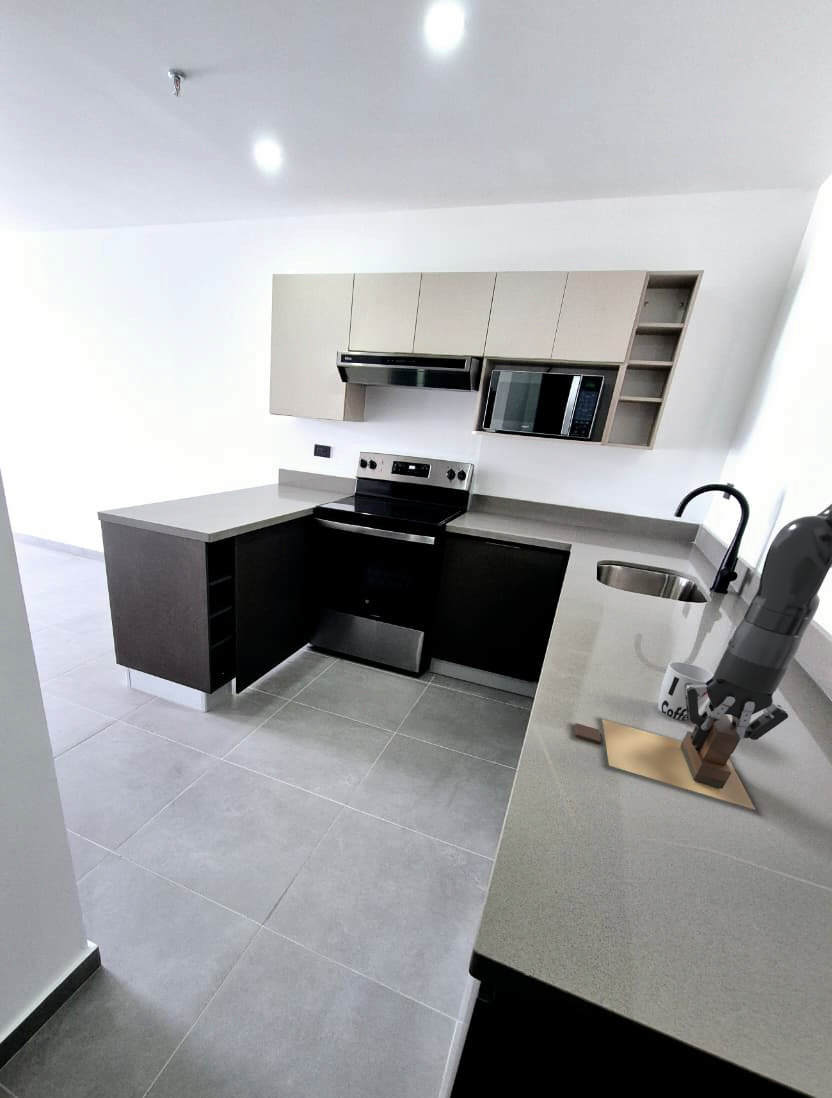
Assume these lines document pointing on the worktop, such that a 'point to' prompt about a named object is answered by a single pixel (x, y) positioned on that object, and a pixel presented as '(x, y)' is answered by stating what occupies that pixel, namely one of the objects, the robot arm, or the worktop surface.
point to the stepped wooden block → (712, 753)
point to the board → (664, 762)
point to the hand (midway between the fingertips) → (708, 750)
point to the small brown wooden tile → (587, 733)
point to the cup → (681, 688)
